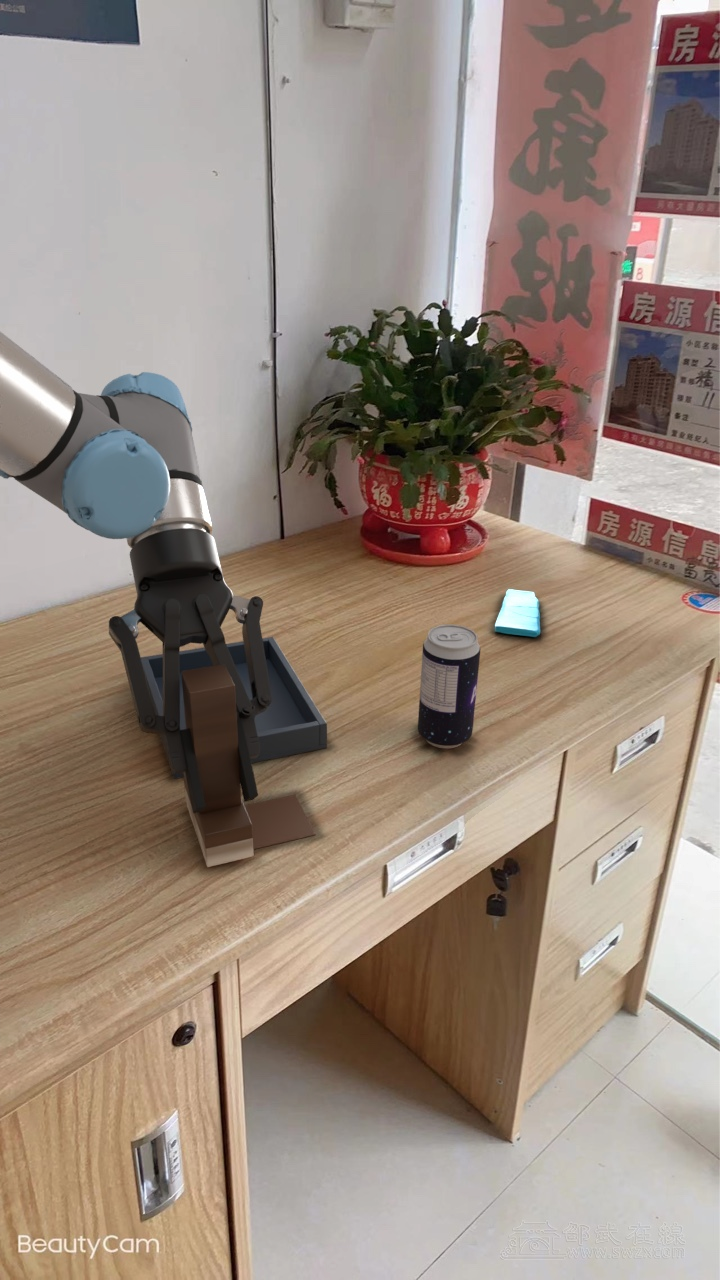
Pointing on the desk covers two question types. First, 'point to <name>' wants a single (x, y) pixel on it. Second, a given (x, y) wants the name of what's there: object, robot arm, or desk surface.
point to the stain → (278, 821)
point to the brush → (216, 765)
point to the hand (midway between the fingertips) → (225, 803)
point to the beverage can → (448, 685)
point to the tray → (280, 726)
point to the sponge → (519, 614)
